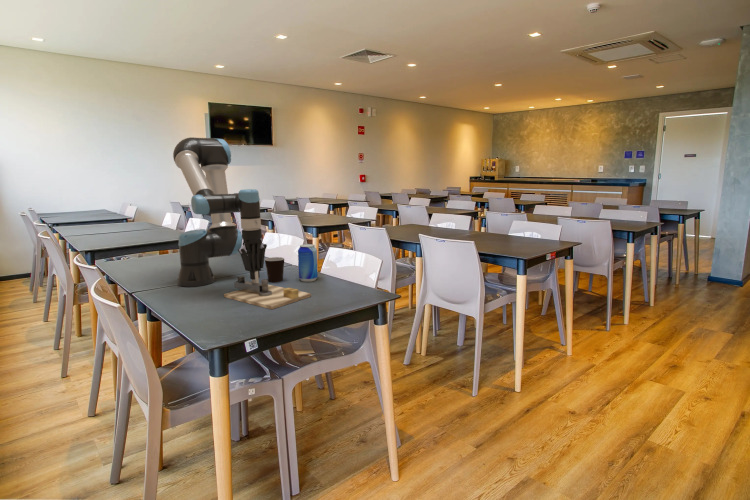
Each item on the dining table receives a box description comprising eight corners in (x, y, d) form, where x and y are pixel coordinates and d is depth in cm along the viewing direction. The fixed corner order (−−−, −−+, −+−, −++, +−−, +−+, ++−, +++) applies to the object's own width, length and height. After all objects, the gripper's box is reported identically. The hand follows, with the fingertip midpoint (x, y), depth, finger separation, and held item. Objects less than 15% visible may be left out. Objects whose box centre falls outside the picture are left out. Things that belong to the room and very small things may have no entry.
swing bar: (265, 290, 172) (264, 279, 171) (259, 292, 169) (259, 281, 168) (240, 285, 179) (239, 275, 178) (234, 287, 176) (233, 277, 175)
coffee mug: (280, 283, 192) (279, 261, 190) (262, 282, 193) (261, 260, 192) (290, 277, 203) (289, 256, 201) (273, 276, 205) (272, 255, 203)
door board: (224, 297, 171) (222, 279, 170) (263, 286, 187) (263, 270, 186) (271, 309, 155) (270, 290, 154) (311, 296, 171) (310, 279, 170)
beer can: (295, 281, 195) (294, 246, 193) (305, 277, 203) (304, 243, 200) (311, 282, 192) (310, 247, 189) (321, 278, 200) (320, 244, 197)
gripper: (244, 231, 163) (249, 292, 168) (270, 227, 174) (274, 284, 178) (231, 230, 168) (236, 289, 172) (257, 226, 178) (261, 281, 183)
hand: (255, 286), depth 175 cm, fingers closed
